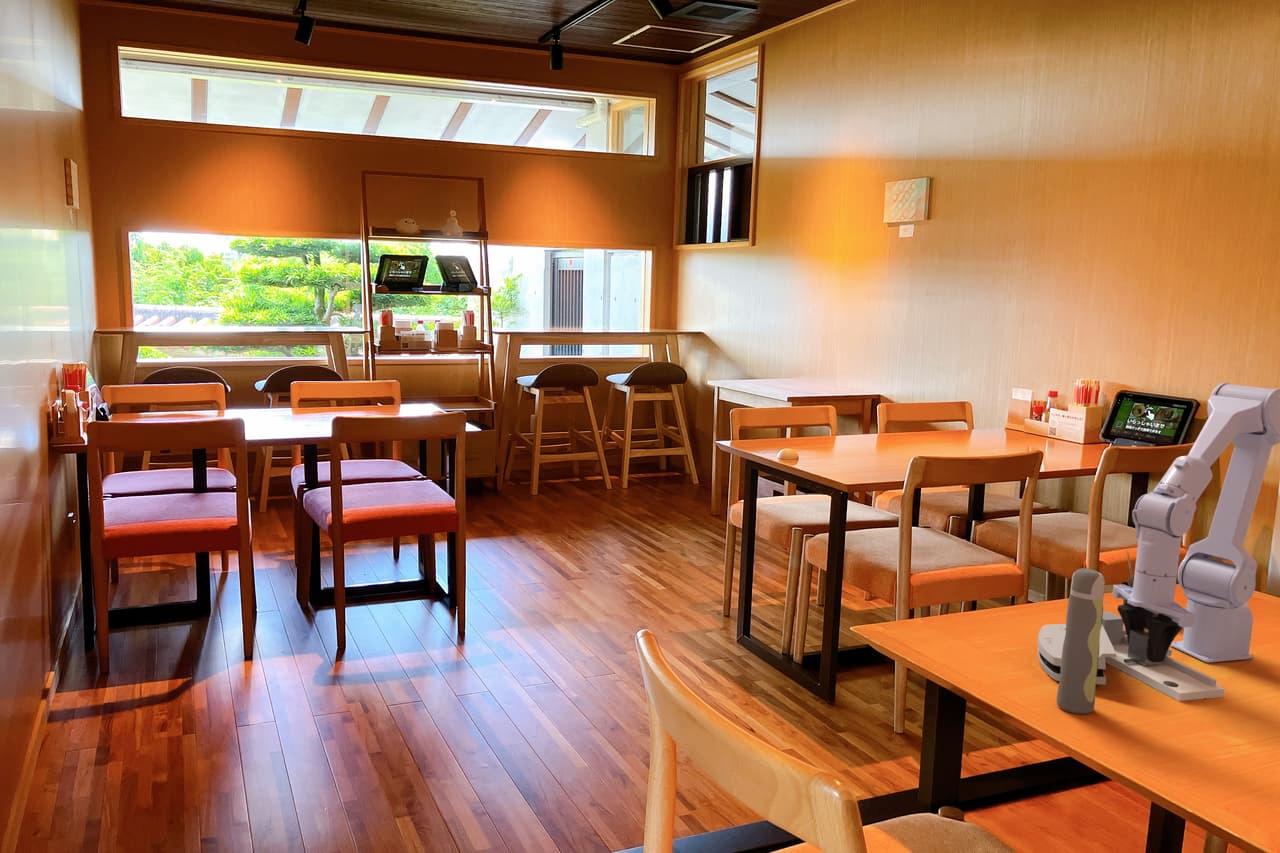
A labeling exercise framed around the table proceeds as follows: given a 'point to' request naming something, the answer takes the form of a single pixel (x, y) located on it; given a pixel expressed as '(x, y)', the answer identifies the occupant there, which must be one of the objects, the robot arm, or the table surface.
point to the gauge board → (1159, 668)
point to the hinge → (1052, 649)
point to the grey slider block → (1141, 648)
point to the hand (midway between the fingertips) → (1146, 656)
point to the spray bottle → (1081, 642)
